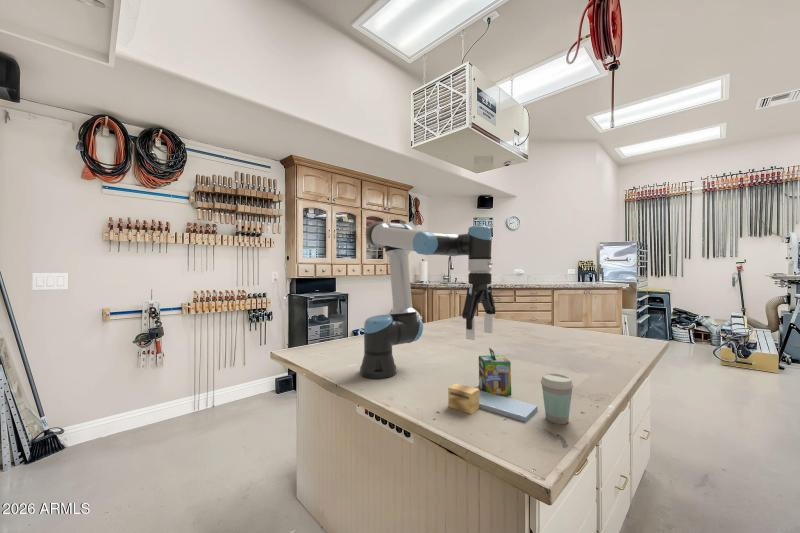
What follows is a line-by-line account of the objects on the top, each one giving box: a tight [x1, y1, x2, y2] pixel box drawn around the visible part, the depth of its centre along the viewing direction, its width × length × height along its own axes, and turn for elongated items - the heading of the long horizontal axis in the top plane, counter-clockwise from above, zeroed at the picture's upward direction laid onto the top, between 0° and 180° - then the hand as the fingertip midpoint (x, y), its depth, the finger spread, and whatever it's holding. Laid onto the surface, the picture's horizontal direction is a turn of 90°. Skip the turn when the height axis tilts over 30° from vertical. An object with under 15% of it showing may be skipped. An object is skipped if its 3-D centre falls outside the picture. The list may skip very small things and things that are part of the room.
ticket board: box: [479, 389, 539, 423], centre depth 102 cm, size 24×10×2 cm, turn 49°
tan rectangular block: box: [447, 382, 480, 415], centre depth 99 cm, size 8×5×6 cm, turn 49°
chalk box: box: [478, 347, 512, 396], centre depth 114 cm, size 9×9×15 cm
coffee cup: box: [540, 372, 574, 425], centre depth 92 cm, size 8×8×12 cm
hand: (479, 336), depth 107 cm, fingers open, 13 cm apart
